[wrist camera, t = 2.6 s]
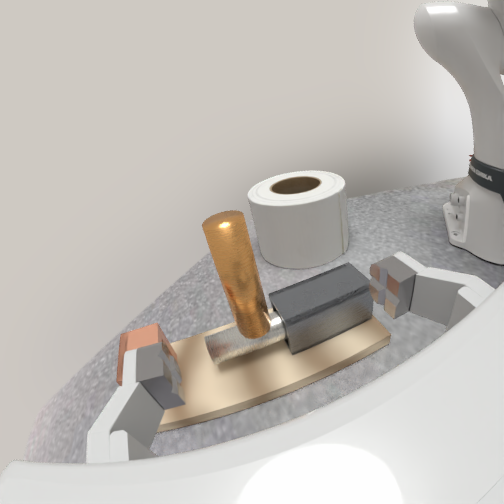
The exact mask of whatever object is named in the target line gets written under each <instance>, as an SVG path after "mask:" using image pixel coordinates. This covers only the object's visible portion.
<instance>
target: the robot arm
mask: <svg viewBox="0 0 504 504" xmlns="http://www.w3.org/2000/svg"><path fill="white" fill-rule="evenodd" d="M414 29H415V33H416V36H417V39H418V41H419V43H420V44H421V46H422V48H423V49H424V50H425V51H426V53H427V54H428V55H429V56H430V57H431V58H432V59H434V60H435V61H436V62H438V63H439V64H440V65H442V66H443V67H444V68H445V69H446V70H447V71H448V72H449V73H450V74H451V75H452V76H453V77H454V78H455V79H456V81H457V82H458V84H459V85H460V87H461V89H462V90H463V92H464V94H465V96H466V99H467V101H468V104H469V107H470V112H471V117H472V125H473V137H474V154H473V155H469V156H471V157H472V158H471V159H470V160H469V161H471V162H470V165H469V166H470V167H469V172H468V174H469V175H468V176H467V177H466V178H464V179H463V180H462V181H461V182H459V183H458V184H457V185H456V186H455V189H454V193H450V202H449V203H445V204H443V208H442V210H443V214H444V218H445V223H446V227H447V232H448V237H449V242H450V243H451V244H453V245H455V246H458V247H461V248H464V249H466V250H468V251H470V252H471V253H473V254H474V255H476V256H478V257H480V258H482V259H484V260H487V261H490V262H493V263H497V264H504V85H503V82H502V80H501V76H500V74H502V75H504V0H488V7H481V6H476V5H471V4H465V3H459V2H452V1H441V2H430V3H424V4H421V5H420V6H419V8H418V9H417V11H416V14H415V17H414ZM370 275H371V276H372V279H371V281H370V282H369V290H370V293H371V296H372V298H373V299H374V301H375V302H376V303H377V304H381V305H384V310H385V311H386V312H387V313H388V314H389V315H390V316H391V317H392V318H393V319H396V318H398V317H399V316H401V315H403V314H405V313H407V312H409V311H410V312H411V313H414V314H417V315H419V316H422V317H425V318H427V319H430V320H433V321H436V322H438V323H441V324H444V325H446V326H447V328H446V331H445V333H444V334H443V335H442V336H440V337H439V338H438V339H436V340H435V341H434V342H432V343H431V344H429V345H428V346H427V347H425V348H424V349H422V350H421V351H419V352H418V353H417V354H415V355H414V356H412V357H411V358H409V359H408V360H406V361H404V362H403V363H401V364H400V365H398V366H397V367H395V368H393V369H392V370H390V371H388V372H387V373H385V374H383V375H382V376H380V377H378V378H377V379H375V380H373V381H371V382H370V383H368V384H366V385H364V386H362V387H360V388H359V389H357V390H355V391H353V392H351V393H349V394H347V395H345V396H343V397H341V398H339V399H337V400H335V401H333V402H331V403H329V404H327V405H325V406H322V407H320V408H318V409H316V410H314V411H311V412H309V413H307V414H304V415H302V416H300V417H297V418H295V419H292V420H290V421H287V422H285V423H282V424H279V425H277V426H274V427H271V428H268V429H266V430H263V431H260V432H257V433H254V434H251V435H248V436H244V437H241V438H238V439H234V440H231V441H228V442H224V443H220V444H217V445H213V446H209V447H205V448H200V449H196V450H192V451H187V452H182V453H177V454H172V455H166V456H160V457H159V456H158V455H156V454H155V453H153V452H152V451H150V450H149V449H150V447H151V444H152V442H153V440H154V437H155V435H156V432H157V430H158V427H159V425H160V422H161V420H162V418H163V415H164V413H165V411H164V410H167V409H171V408H174V407H178V406H182V405H185V404H186V401H185V395H184V389H183V388H182V387H181V385H180V383H181V381H182V376H181V372H180V368H179V366H178V363H177V361H176V360H175V358H174V357H173V356H171V355H169V348H168V347H167V345H166V344H165V342H159V343H155V344H152V345H148V346H144V347H140V348H138V349H133V350H129V351H126V352H125V354H124V362H123V378H122V386H120V387H118V389H117V390H116V392H115V393H114V394H113V396H112V397H111V399H110V400H109V402H108V403H107V405H106V406H105V408H104V409H103V411H102V412H101V414H100V415H99V417H98V418H97V420H96V421H95V423H94V424H93V426H92V427H91V429H90V430H89V432H88V434H87V458H86V463H46V462H33V461H24V460H13V461H11V462H10V463H9V464H8V466H7V467H6V468H5V469H4V470H3V472H2V473H1V475H0V504H504V282H503V283H502V284H501V285H500V286H499V287H498V288H497V289H496V290H495V289H494V288H493V287H491V286H490V285H488V284H487V283H486V282H484V281H483V280H481V279H480V278H479V277H477V276H474V275H469V274H464V273H458V272H453V271H448V270H442V269H437V268H432V267H429V268H426V267H424V266H423V265H421V264H420V263H418V262H417V261H416V260H414V259H413V258H411V257H410V256H408V255H407V254H405V253H404V252H400V251H399V252H397V253H395V254H393V255H391V256H390V257H387V258H385V259H383V260H381V261H378V262H376V263H374V264H372V265H371V267H370Z"/></svg>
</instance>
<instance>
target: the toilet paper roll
mask: <svg viewBox="0 0 504 504" xmlns="http://www.w3.org/2000/svg"><path fill="white" fill-rule="evenodd" d="M248 200H249V204H250V208H251V212H252V216H253V221H254V225H255V229H256V234H257V238H258V242H259V247H260V251H261V254H262V256H263V258H264V259H265V260H266V261H268V262H269V263H271V264H273V265H275V266H278V267H282V268H288V269H307V268H313V267H317V266H321V265H324V264H326V263H329V262H331V261H333V260H335V259H336V258H338V257H339V256H340V255H342V254H343V253H344V254H345V252H346V250H347V248H348V244H349V232H348V214H347V200H346V188H345V181H344V179H343V178H342V177H341V176H339V175H337V174H334V173H330V172H325V171H299V172H292V173H286V174H282V175H278V176H274V177H271V178H269V179H266V180H264V181H262V182H260V183H258V184H256V185H255V186H253V187H252V188H251V189H250V191H249V192H248Z"/></svg>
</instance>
